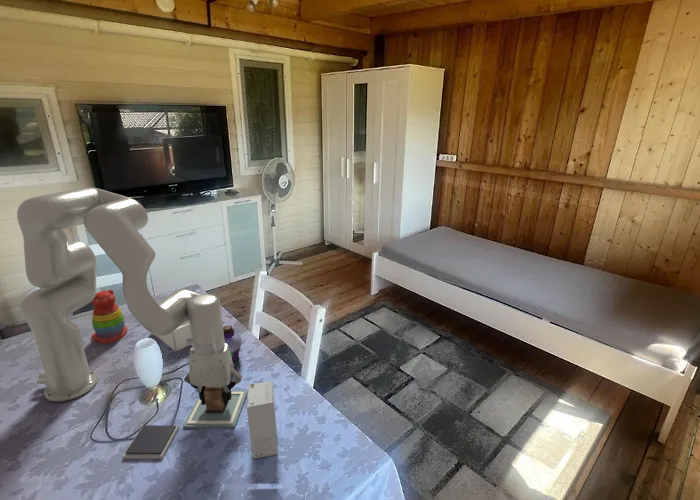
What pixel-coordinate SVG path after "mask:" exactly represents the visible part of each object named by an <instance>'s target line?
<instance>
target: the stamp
mask: <svg viewBox="0 0 700 500" xmlns="http://www.w3.org/2000/svg"><path fill="white" fill-rule="evenodd" d="M223 392H224V389H223V387H222V386H206V388H205V390H204V396H205V404H206V413H223V412H224V410H225V408H226V405H224V399H223Z"/></svg>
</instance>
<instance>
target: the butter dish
mask: <svg viewBox="0 0 700 500" xmlns="http://www.w3.org/2000/svg"><path fill="white" fill-rule="evenodd" d="M156 338H158V339H159V340H161V341H162V343H164V344H165V345H167V346H168V347H169V348H171V349H172V350H173V351H174V352H178V351H180V350H182V349H184V348H186V347H188V346H191V344H187V339H191V338H192V337H191V330H190V323H189V320H188V321H186V322H184V323H183V324H182V325H180V326H179V327H178V328H177V329H176V330H174V331H173V332H172V333H170V334H168V335H166V336H156Z"/></svg>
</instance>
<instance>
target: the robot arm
mask: <svg viewBox="0 0 700 500" xmlns="http://www.w3.org/2000/svg"><path fill="white" fill-rule="evenodd" d="M16 213H17V214H16V217H17V222H18V226H19V228H20V231H21V233H22V237H23V239H22V240H23V252H24V253H23V254H24V255H23V256H24V264H25V265H24V267H25V274H26V278H27V280H28V282H29V283H30V284H31V285H32V286H34V288H35V287H36V288H37V289H36V290H34V291H32V292H30V293H28V294H27V295H26V296H24V298H23V299H22V301H21V302H20V305H19V309H20V312H21V314H22V317H23V318H24V320H25V322H26V323H27V325H28V326H29V328H30V330H31V332H32V335H33V337H34V340H35V344H36V347H37V349H38V354H39V357H40V359H41V362H42V366H43V369H44V372H43V371H41V372H40V373H39V375H38V379H37V380H36V384H38V385H45V387H46V388H45V389H44V391H43V393H44V394H43V395H44V397H45V399H46V400H47V401H49V402H56V403H57V402H65V401H70V400H73V399H76V398H79V397H81V396H82V395H84V394H87V393H88V392H89V391H91V390H92V389H93V388H94V387H95V386H96V384H97V383H98V381H99V376H98V374H97V372H96V371H93V370H90V368H89V363H88V359H87V355H86V351H85V349H84V348H85V347H84V344H83V340H82V336H81V333H80V329H79V328H78V326H77V325H76V324H75V323H74V322H72V321H71V320H69V319H68V317H69V316H70V315H72V314H73V313H74V312H77V311H78V310H79V309H82V308H84V307H85V306H87V305H89V304H90V303H92V300H93V299H94V297H95V294H96V293H97V258H96V256H95V253H94V251H93V249H92V248H91V247H90V246H89V245H88V244H87V243H85V242H83V241H78V240H70V241H69V240H68V235H67V232H66V231H65V229H70V228H73V227H76V226H80V225H83V226H84V228H85V230H86V231H87V232H88V234H89V235H90V236H91V237H92V239H94V241H95V242H96V243H97V244H98V246H99V247H100V248H101V249H102V250H103V251H104V253H105V254H106V255H107V257H108V258H109V259H110V260H111V261H112V262H113V264H114V265H115V266H116V267H117V269H118V270H119V271H120V274H122V292H123V298H124V300H125V301H124V302H125V304H126V307H127V309H128V310H129V312H130V313H131V315H132V316H133V317H134V319H136V320H137V322H138V323H139V324H140V325H141V326H142V327H143V328H144V329H145V330H147V332H149V333H150V334H152V335H153V336H155V337H157V336H166V335H168V334H170V333H172V332H173V331H174V330H176V329H177V328H178V327H179V326H180V325H182V324H183V323H184V322H186V321H188V320H189V323H190V330H191V337H192V338H191V339H187V344H190V346H191V348H190V350H189V357H188V359H189V360H188V373H187V374H186V375H185V377H184V378H183V381H184V382H185V383H187V384H189V385H190V386H191V387H192V388H194V389H195V392H197V393H198V397H199V398H200V400H201V403H202V405H204V404H205V396H204V390H205V388H206V386H222V387H223V389H224V392H223V399H224V405H227V404H228V402H229V400H231V397H232V394H231V391H232V389H233V388H234V387H236V385H238V384H239V383H240V382H241V381H242V379H243V376H242V375H241V373H239V371H238V370H236V369H235V368H234V362H232V357H231V353H230V350H229V347H228V345H227V344H226V343H225V340H224V331H223V327H224V323H223V316H222V315H223V314H222V305H221V301H220V298H218V296H216V295H213V294H201V293H197V292H196V291H192V290H188V289H186V288H185V289H184V288H183V289H177V290H175V291H173V292H172V293H171V294H169V295H168V296H166V297H164V298H163V299H161V300H160V301H159V302H157V300H156V299H155V298H154V296H153V295H152V294H151V291H150V290H149V286H148V281H147V280H148V279H147V278H148V273H149V270H150V267H151V265H152V263H153V262H154V260H155V258H156V251H155V250H154V248H152V246H151V245H150V244H149V243H148V241H147V240H146V239H145V237H144V236H143V235H142V233H140V230H142V229H143V228H145V227H146V225H147V224H148V221H149V214H148V211H147V210H146V209H145V207H144V206H143V205H142V204H141V203H140V202H139V201H137V200H136V199H133V198H131V197H129V196H125V195H122V194H118V193H114V192H111V191H107V190H105V189H102V188H97V187H82V188H77V189H71V190H65V191H59V192H53V193H50V194H44V195H38V196H35V197H30V198H27V199H25V200H24V201H22V202H21V204H19V206H18V207H17V212H16ZM232 378H233V379H232Z"/></svg>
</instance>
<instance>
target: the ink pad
mask: <svg viewBox="0 0 700 500" xmlns="http://www.w3.org/2000/svg"><path fill="white" fill-rule="evenodd" d="M179 429H180V425H155V424H154V425H142V426H141V427H140V429H139V431H137V433H136V435H135V437H133V439H132V441H131V442H130V444H129V445H128V447H127V448H126V450H125V451H124V453H123V455H122V459H125V460H127V459H129V460H136V459H138V460H141V459H142V460H143V459H144V460H151V459H152V460H156V459H157V460H159V459H160V460H163V459H164V457H165V454H166V453H167V451H168V450H169V448H170V446H171V444H172V442H173V441H174V438H175V437H176V436H177V433H178V431H179Z"/></svg>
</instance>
